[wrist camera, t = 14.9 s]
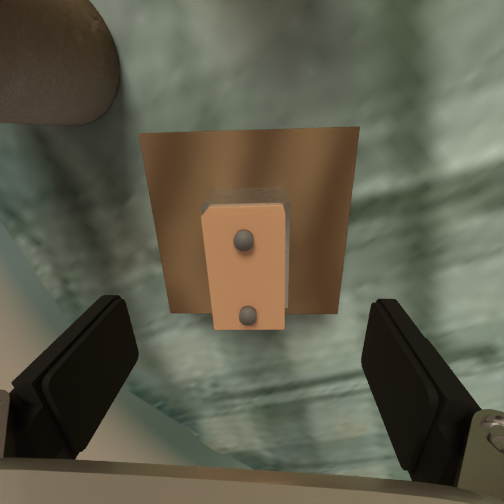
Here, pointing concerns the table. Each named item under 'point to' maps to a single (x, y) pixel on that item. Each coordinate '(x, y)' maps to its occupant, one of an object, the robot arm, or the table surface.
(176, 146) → the walnut stand
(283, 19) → the table surface
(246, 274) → the cover
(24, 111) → the pillar candle
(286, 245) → the housing base
